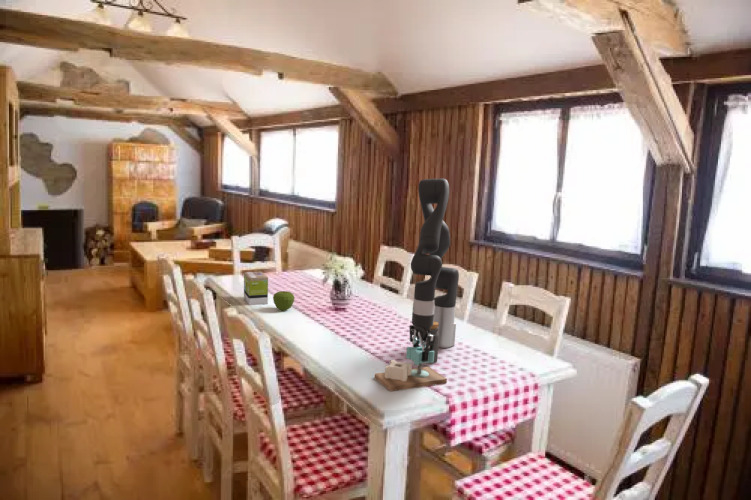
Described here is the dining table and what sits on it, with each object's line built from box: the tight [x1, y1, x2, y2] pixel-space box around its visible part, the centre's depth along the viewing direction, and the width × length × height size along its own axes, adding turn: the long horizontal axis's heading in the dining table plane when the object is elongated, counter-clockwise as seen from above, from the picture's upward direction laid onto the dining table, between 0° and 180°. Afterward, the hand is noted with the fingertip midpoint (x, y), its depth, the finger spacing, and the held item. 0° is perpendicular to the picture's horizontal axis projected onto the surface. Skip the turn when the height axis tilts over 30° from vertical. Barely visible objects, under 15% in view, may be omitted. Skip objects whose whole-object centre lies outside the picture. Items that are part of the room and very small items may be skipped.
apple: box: [272, 290, 295, 312], centre depth 264 cm, size 11×10×10 cm
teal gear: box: [405, 345, 434, 366], centre depth 184 cm, size 8×8×4 cm
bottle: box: [423, 322, 439, 364], centre depth 203 cm, size 6×6×15 cm
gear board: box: [374, 363, 448, 392], centre depth 183 cm, size 22×12×6 cm, turn 116°
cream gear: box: [384, 359, 413, 382], centre depth 181 cm, size 8×8×4 cm
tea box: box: [243, 271, 269, 306], centre depth 278 cm, size 15×10×15 cm, turn 25°
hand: (420, 358), depth 185 cm, fingers closed on teal gear, 5 cm apart
